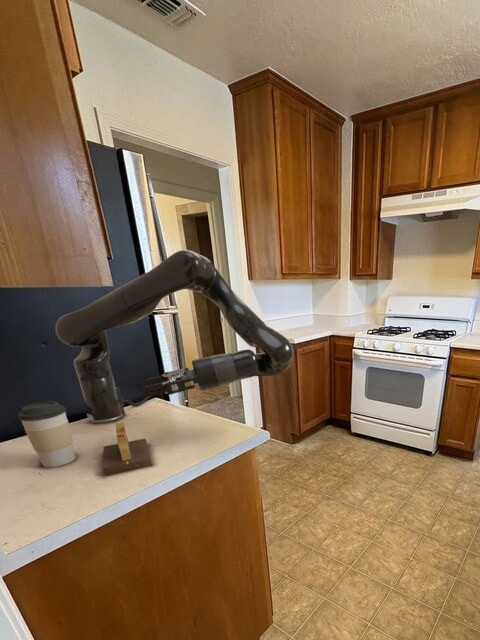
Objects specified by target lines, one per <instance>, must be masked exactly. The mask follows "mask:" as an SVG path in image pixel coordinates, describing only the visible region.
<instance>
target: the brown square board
mask: <svg viewBox="0 0 480 640" xmlns="http://www.w3.org/2000/svg"><path fill="white" fill-rule="evenodd" d="M128 442H129V447H130V454H131V460H126V461H123V460H122V456H121V453H120V449H119V445H118V443H115V444H110V445H104V446H103V448H102V449H103V450H102V451H103V452H102V469H103V473H104V476H105V477H107V476H111V475H116V474H120V473H126V472H128V471H134V470H137V469H141V468H147V467H151V466H153V462H152V458H151V453H150V451H149V446H148V442H147V439H146V438H140V439H135V440H131V441H129V440H128ZM159 446H160V444H154V445H152V447H159ZM96 459H98V456H96V457H95V456H94V457H90V460H96Z"/></svg>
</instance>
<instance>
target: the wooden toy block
mask: <svg viewBox="0 0 480 640" xmlns="http://www.w3.org/2000/svg"><path fill="white" fill-rule="evenodd" d="M115 435H116V441H117V442H116V443H117V444H118V445H119V449H120V453H121V456H122V460H123V461H126V460H131V454H130V447H129V438H128V435H127V431H126V425H125V423H124V422H117V423H115Z"/></svg>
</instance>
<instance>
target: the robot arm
mask: <svg viewBox="0 0 480 640" xmlns="http://www.w3.org/2000/svg"><path fill="white" fill-rule="evenodd" d="M182 290H183V291H184V290H189V291H193V292H197V293H200V294H202V296H204V297H206V298H207V299H208V300H210V301H211V302H212V303H213V304H214V305H215V306H216V307H217V308H218V309H219V310H220V312H221V314H222V315H223V317H224V319H225V321H226V322H227V324H228V325H229V326H230V328H231V329H232V330H233V331H234V332H235V333H236V334H237V335H238V336H239V337H240V338H241V340H243V341H244V342H245V343H246V344H247V345H248V346H249V347H250V348H259V350H261V351H262V352H260V353H255V352H254V351H253V350H252V349H242V350H236V351H233V352H229V353H228V352H227V353H219V354H215V355H210V356H205V357H200V358H197V359H193V360H192V361H191V365H192V369H189V367H184V368H181V369H176V370H171V371H165V372H164V373H162V374H161V375H159V376H154V377H150V378H146V379H145V384H146V386H144V387H143V392H144V393H145V396H146V397H144V398H143V399H142V400H140V401H138V402H135V403H134V402H133V401H132V400H129V399H123V397H121V392H120V388H118V387H116V384H115V380H114V376H113V371H112V367H111V364H110V358H111V357H110V356H111V353H110V347H109V342H108V338H107V332H106V331H109V330H112V329H116V328H120V327H124V326H126V325H131V324H133V323H135V322H138V321H139V320H142V319H144V318H145V317H147V316H149V315H151V314H153V313H154V312H155V310H157V308H158V306H159V305H160V303H161V301H162V300H163V299H164V298H166V297H168V296H169V295H172V294H175V293H177V292H180V291H182ZM55 334H56V336H57V337H58V339H59V341H61V342H62V343H64V344H65V345H68V346H70V347H78V348H79V347H81V351H80V353H79V355H77V357H75V358H74V359H73V365H74V369H75V372H76V375H77V378H78V382H79V385H80V389H81V393H82V396H83V399H84V402H85V407H86V409H87V413H86V416H87V418H88V419H89V421H90V423H92V424H108V423H112V422H115V421H118V420H120V419H122V418H124V416H126V412H125V403H126V404H129V405H130V406H132V407H138V406H140V405H142V404H144V403H146V402H147V401H148V400H149V399H151V398H153V397H154V396H163V394H165V395H166V394H167V395H168V396H169V395H170V396H171V395H174V394H177V393H182V392H185V391H189V390H194V389H195V388H196V385H198V387H199V390H200V391H207V390H210V389H211V390H212V389H215V388H219V387H222V386H227V385H230V384H234V383H235V382H239V381H242V380H247V379H251V378H253V377H272V376H277V375H282V374H283V373H285V372H287V371H288V370H289V368H290V366H291V362H292V360H293V357H294V348H293V345H292V343H291V342H290V341H289V339H288V338H286V337H285V336H284V335H283V334H281V333H280V332H278V331H277V330H275V329H273V328H272V327H270V326H268V325H267V324H266V323H265V322H264V321H263V320H262V319H261V318H260V317H259V316H258V315H257V314H256V313H255V312H254V311H253V310H252V309H251V308H250V307H249V306H248V305H247V304H246V303H245V302H244V301H243V300H242V299H241V298H240V297H239V296H238V295H237V294H236V293H235V292H234V290H233V289H232V287H231V286H229V284H228V283H227V282H226V280H225V279H224V278H223V276H222V275H221V273H220V272H219V271H218V269H217V268H216V266H215V264H213V263H212V261H211V260H210V259H209V258H208V257H206V256H203V255H201V254H200V253H197V252H195V251H193V250H189V249H181V250H178V251H176V252H174V253H173V254H171V255H169V256H168V257H166V258H165V259H164V260H163V261H161V262H160V263H159V264H157V265H156V266H155V267H153V268H152V269H150V270H149V271H147V272H144V273H143V274H141V275H139V276H138V277H136V278H134V279H133V280H130V281H129V282H126V283H124V284H123V285H120V286H119V287H117V288H115V289H113V290H112V291H111V292H109V293H107V294H105V295H104V296H101V297H100V298H98V299H97V300H95V301H93V302H91V304H88V305H87V306H84V307H82V308H80V309H78V310H75V311H72V312H69V313H66V314H64V315H61V316H60V318H58V320H57V321H56V324H55Z"/></svg>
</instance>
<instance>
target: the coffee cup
mask: <svg viewBox="0 0 480 640" xmlns="http://www.w3.org/2000/svg"><path fill="white" fill-rule="evenodd" d="M66 412H67V409H66V408H65V405H62V404H59V403H58V402H57V401H41V402H35V403H31V404H28V405H25V406H23V407H22V409H21V411H20V412H18V414H17V416H18V420H20V422H21V423H22V426H23V427H24V428H23V429H24V432H25V434H26V436H27V438H28V439H29V442H30V444H31V446H32V448H33V450H34V451H35V452H36V454H37V456H38V459H39V461H40V463H41V465H42V466H43V467H45V468H54V467H56V468H57V467H61V466H65V465H67V464H69V463H72V462H73V461H75V459H76V452H75V448H74V444H73V443H74V441H73V436H72V432H71V431H72V430H71V427H70V423H69V419H68V418H67V413H66Z"/></svg>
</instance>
